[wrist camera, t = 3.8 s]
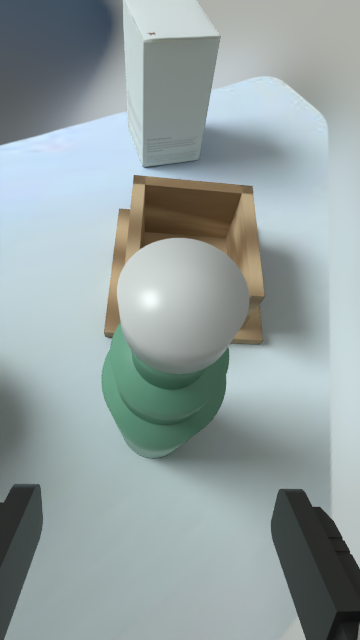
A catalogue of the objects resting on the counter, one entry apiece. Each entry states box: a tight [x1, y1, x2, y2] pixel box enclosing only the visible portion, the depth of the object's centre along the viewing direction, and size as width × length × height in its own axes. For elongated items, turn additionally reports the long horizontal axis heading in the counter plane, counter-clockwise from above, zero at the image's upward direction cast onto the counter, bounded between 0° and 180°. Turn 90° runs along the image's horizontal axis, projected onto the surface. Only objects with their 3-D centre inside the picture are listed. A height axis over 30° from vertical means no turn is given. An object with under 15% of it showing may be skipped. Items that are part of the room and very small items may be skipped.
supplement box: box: [123, 0, 220, 167], centre depth 35 cm, size 7×7×13 cm
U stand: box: [104, 175, 265, 344], centre depth 29 cm, size 14×14×7 cm
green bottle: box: [102, 238, 249, 458], centre depth 17 cm, size 5×5×21 cm
